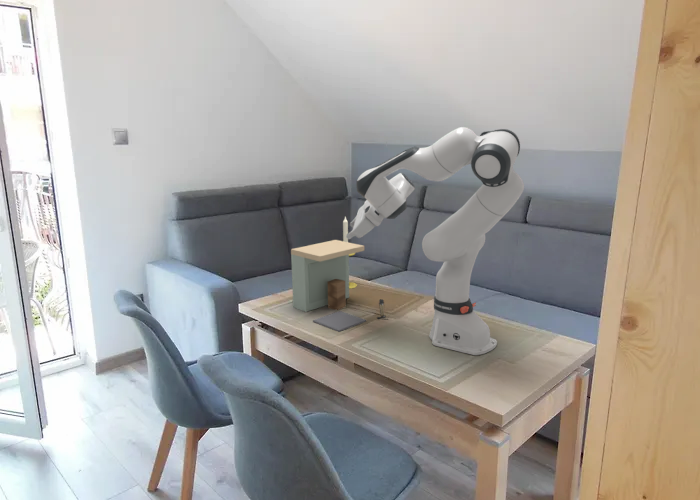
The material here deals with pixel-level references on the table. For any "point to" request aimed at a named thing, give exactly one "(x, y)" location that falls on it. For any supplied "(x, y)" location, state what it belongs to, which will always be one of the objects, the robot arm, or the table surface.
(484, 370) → the table surface
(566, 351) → the table surface
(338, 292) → the walnut block
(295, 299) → the cabinet
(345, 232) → the candle
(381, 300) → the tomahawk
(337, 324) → the mat
